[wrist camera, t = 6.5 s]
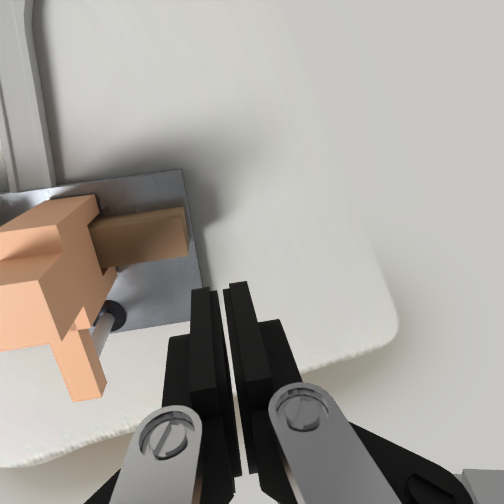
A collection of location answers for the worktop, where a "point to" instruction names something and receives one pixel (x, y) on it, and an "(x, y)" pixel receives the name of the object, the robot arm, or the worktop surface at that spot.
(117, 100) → the worktop surface
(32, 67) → the adjustable wrench
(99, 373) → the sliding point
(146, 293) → the flange plate
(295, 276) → the worktop surface
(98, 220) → the trammel bar
